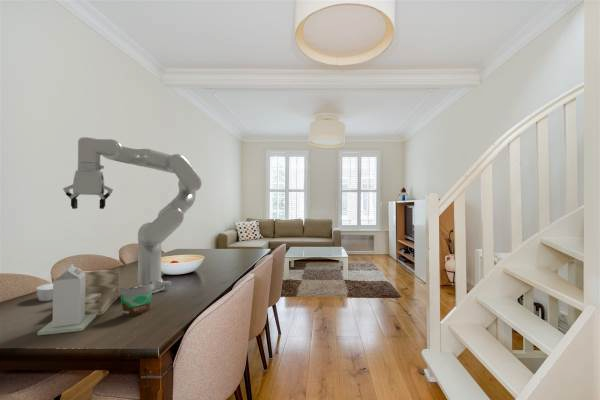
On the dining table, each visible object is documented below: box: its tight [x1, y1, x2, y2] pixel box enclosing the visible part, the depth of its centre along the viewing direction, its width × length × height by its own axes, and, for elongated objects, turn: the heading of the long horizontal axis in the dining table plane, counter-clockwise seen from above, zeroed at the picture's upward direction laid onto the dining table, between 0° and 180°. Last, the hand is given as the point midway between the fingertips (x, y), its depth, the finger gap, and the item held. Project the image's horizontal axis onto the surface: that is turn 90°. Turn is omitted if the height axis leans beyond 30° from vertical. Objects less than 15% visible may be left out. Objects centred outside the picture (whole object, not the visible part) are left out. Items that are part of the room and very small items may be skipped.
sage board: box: [37, 314, 97, 336], centre depth 95 cm, size 12×12×1 cm
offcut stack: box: [85, 293, 101, 304], centre depth 107 cm, size 10×7×6 cm, turn 108°
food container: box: [118, 281, 154, 317], centre depth 107 cm, size 12×6×10 cm, turn 148°
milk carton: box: [52, 263, 86, 327], centre depth 95 cm, size 7×7×19 cm
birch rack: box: [83, 269, 120, 316], centre depth 111 cm, size 14×19×12 cm
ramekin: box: [35, 282, 53, 302], centre depth 122 cm, size 11×11×5 cm
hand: (88, 208), depth 119 cm, fingers open, 9 cm apart
